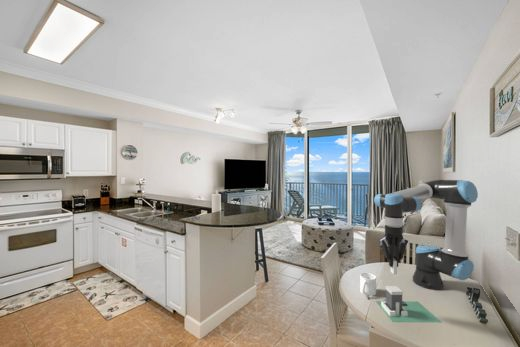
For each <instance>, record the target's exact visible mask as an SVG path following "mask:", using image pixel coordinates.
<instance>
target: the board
mask: <svg viewBox="0 0 520 347" xmlns="http://www.w3.org/2000/svg"><path fill="white" fill-rule="evenodd" d="M382 301H383V302H386V298H383V300H382ZM375 302H376V304H377V305H378V306H379V307H380V308H381V310H382V311H383V312H384V313H385V315H386V316H387V317H388V318H389V319H390V321H391V322H392V323H442V321H441V320H440V319H439V318H437V317H436V316H435V315H434V314H433V313H432V312H431V311H430V310H428V309H427V308H426V307H425V306H424V305H423V304H421V302H419V301H416V300H415V301H412V300H411V301H410V300H409V301H403V300H402V307H403V308H404V309H405V310H406V311H407V312H408V316H401V314H399V315H396V316H389V314H388V313H387V312H386V311H385V310H384V309H383V307H382V306H381V300H380V301H379V300H376V301H375Z"/></svg>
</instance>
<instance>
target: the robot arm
mask: <svg viewBox="0 0 520 347" xmlns="http://www.w3.org/2000/svg"><path fill="white" fill-rule="evenodd" d="M476 186H477V185H475V184H474V183H473V182H472V181H470V180H464V179H463V180H462V179H457V180H456V179H435V180H430V181H425V182H422V183H419V184H417V185H416V186H413V187H409V188H405V189H402V190H398V191H393V192H391V193H386V194H384V193H378V194H376V195H375V196H374V198H373V202H374V204H375V206H376V207H378V208H383V209H384V224H385V225H384V235H383V238H380V239H379V242H380V243H381V247H382V251H383V256H384V258H386V259H387V260H388V265H389V267H390V273H391V274H393V275H398V268H399V262H401V260H403V259H404V255H405V250H406V246H407V244H408V243H409V240H407V239H406V238H404V236H403V235H404V234H403V233H404V232H403V231H404V227H403V226H404V219H403V218H404V217H403V216H404V213H414V212H418V211H421V209H422V205H423V204H422V201H421V199H423V200H429V199H437V200H443V204H445V207H446V212H445V213H446V216H445V217H446V218H445V236H444V247H443V248H441V249H440V247H439V246H435V245H429V244H428V245H427V244H426V245H425V244H424V245H423V244H422V245H417V246H416V247H415V271H414V273H413V275H412V282H413V283H414V284H416V285H418V286H419V287H422V288H425V289H428V290H435V291H438V290H442V289H444V281H443V279H442V276H441V273H442V274H444V275H446V276H449V277H452V278H454V279H457V280H460V281H465V280H468V279H469V278H470V277H471V276H472V274H473V271H474V267H475V265H474V263H473V261H472V260H470V259H469V254H468V253H467V252H466V239H467V238H466V234H467V219H468V216H467V215H468V209H469V208H470V207H472V203H475V202H477V199H478V196H479V193H478V190H477V189H478V188H477V187H476Z"/></svg>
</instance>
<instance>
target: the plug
mask: <svg viewBox="0 0 520 347" xmlns="http://www.w3.org/2000/svg"><path fill="white" fill-rule="evenodd" d="M403 292H404V291H402V290H401V289H400V288H399V287H398V286H397V285H385V299H386V306H387V307H388V308H389V309H390V310H391V311H395V312H396V315H399V314H401V311H402V301H403Z"/></svg>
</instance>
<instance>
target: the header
mask: <svg viewBox="0 0 520 347" xmlns="http://www.w3.org/2000/svg"><path fill="white" fill-rule="evenodd" d="M380 301H381V300H380ZM381 306H382V307H383V309H384V310H385V311H386V312H387V313H388V314H389V316H396V312H395V311H391V310H390V309H389V308H388V307H387V306H386V302H383V300H382V301H381ZM401 316H408V312H407V311H406V310H405V309H404V308H403V307H402V311H401Z"/></svg>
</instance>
